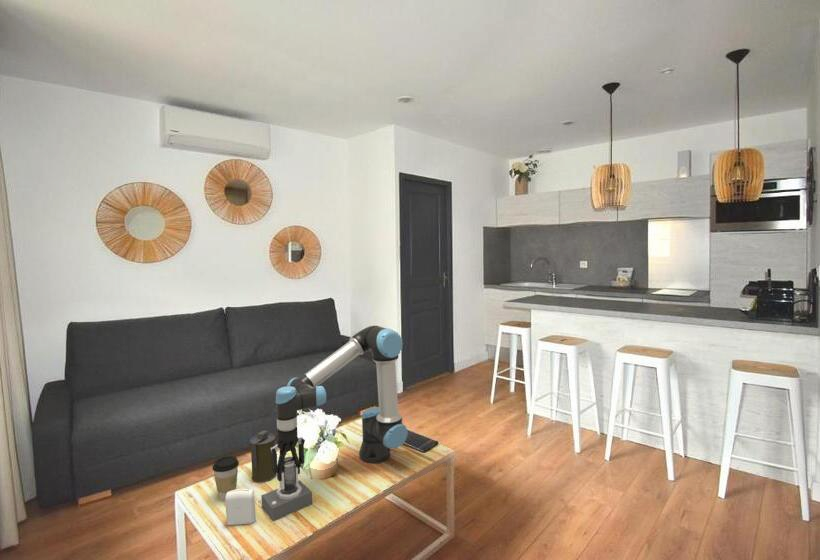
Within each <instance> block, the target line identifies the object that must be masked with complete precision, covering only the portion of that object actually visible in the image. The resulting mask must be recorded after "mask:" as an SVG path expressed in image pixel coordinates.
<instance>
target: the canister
mask: <svg viewBox="0 0 820 560" xmlns="http://www.w3.org/2000/svg"><path fill="white" fill-rule="evenodd" d="M249 442H250V453H251V454H250V456H251V480H252V481H253V482H254V483H258V484H259V483H268V482H270V481H273V480H274V479H275V478H277V473H276V474H275V473H274V472H273V471H272V456H271V451H270V447H274V446H275V445H276V435H275V434H273V433H269V431H268V430H264V429H263V430H262V431H259V432H258V433H257V435H254V436H253V437H251V438H250V440H249Z"/></svg>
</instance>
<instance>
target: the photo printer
mask: <svg viewBox="0 0 820 560" xmlns="http://www.w3.org/2000/svg"><path fill="white" fill-rule="evenodd" d="M255 502H256V499H255V491H254V490H253V489H250V488H236V490H232V491H229V492H227V494H226V498H225V501H224V503H225V514H226V515H225V516H226V517H225V518H226V525H227V526H237V525H248V524H253V523H254V522H256V519H257V517H256V515H257V513H256V503H255Z"/></svg>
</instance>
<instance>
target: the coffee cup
mask: <svg viewBox="0 0 820 560" xmlns="http://www.w3.org/2000/svg"><path fill="white" fill-rule="evenodd" d="M239 464H240V462H239V459H238V458H237V457H236V456H234V455H226V456H222V457H220V458H218V459H216V460H215V461H214V463H213V465H212V471H213V472H214V480H215V485H216V486H215V488H216V492H217V495H218V499H219V501H220V502H225V498H226V494H227V492H229V491H232V490H236V489H237V487H238V486H237V484H238V475H239V474H238V471H239V470H238V469H239V468H238V466H239Z"/></svg>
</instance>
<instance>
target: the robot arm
mask: <svg viewBox="0 0 820 560" xmlns="http://www.w3.org/2000/svg"><path fill="white" fill-rule="evenodd" d="M402 350H403V339H402V337H401V335H400V334H399V333H398V332H397V331H395V330H393V329H391V328H387V327H383V326H379V325H369V326H367V327H365V328H363V329H361V330H359V331H358V332H356V333H355V334H354V335H352V336H351V337H349V341H348V342H347V343H345V344H344V345H342V346H341V347H339V348H338V349H337V350H336V351H334V352H333V353H332V354H330V355H329V356H327V357H326V358H324V359H323V360H322V361H321V362H319V363H318V364H316V365H315V366H314V367H313V368H311V369H310V370H309V371H307V372H305V373H304V374H303V375H302V376H300V377H292V378H291V379H290V380H289V381H288V383H287V384H286V386H282V387H280V388H278V389H277V390H276V393H275V404H276V405H275V407H276V435H277V437H276V439H277V441H276V443H275V446H274V447H270V451H271V456H272V471H273V472H274V473H275V474H276V473H277V474H276V478H277V479H276V480H277V481H278V482H279V487H280V488H281V489H282V490H283V489H284V472H282V469H283V464H284V459H285V457H286V455H287V453H288V452H291V457H293V458H295V479H296V484H298V481H299V475H300V474H301V467H302V465H303V464H305V446H304V445H305V441H306V440H305V439H304V438H303V437H298V417H297V414H298V411H301V410H305V409H310V408H315V407H319V406H322V405H324V404H325V403H326V402H327V391H326V389H325V387H324V386H323V385H321V384H322V383H324V382H325V381H326V380H327V379H328V378H330V377H331V376H333V375H334V374H335V373H337V372H338V371H339V370H340V369H342V368H343V367H345V366H346V365H347V364H349V363H350V362H352V361H353V360H354V359H355V358H357V357H358V356H360V355H361V356H362V355H364V354H366V353H367V352H370V351H371V354H372V355H371V356H372V359H371V360H372V361H373V362H374V363H375V365H376V378H377V379H376V381H377V395H378V396H377V397H378V406H373V407H369V408H366V409H364V410H363V411H362V413H361V423H362V424H361V426H362V428H361V429H362V430H361V431H362V441H361V445H360V449H359V453H358V455H359V456H358V457H359V459H360V461H363V462H365V463H368V464H378V463H383V462H386V461H387V460H389V459H390V457H391V453H392V452H391V450H395V449H398V448H401V446H403V445H404V443H405V442H406V440H407V438H408V434H409V432H408V428H407V427H406V425H405V424H403V416H402V413H400V412H399V403H398V402H399V401H398V386H397V382H398V381H397V372H396V371H397V367H396V366H397V365H396V362H397V360H398V359H399V355H400V353H401V351H402ZM296 445H297V448H298V453H297V449H296ZM278 449H279V456H278ZM388 458H389V459H388ZM385 460H386V461H385Z"/></svg>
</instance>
